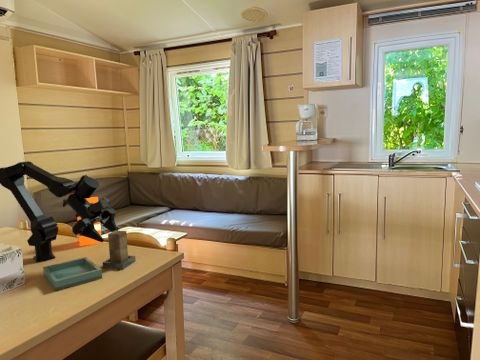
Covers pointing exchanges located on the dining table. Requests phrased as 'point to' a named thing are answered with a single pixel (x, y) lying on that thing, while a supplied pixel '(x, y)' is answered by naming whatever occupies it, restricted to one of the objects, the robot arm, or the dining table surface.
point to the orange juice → (97, 226)
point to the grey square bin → (119, 265)
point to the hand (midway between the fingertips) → (110, 237)
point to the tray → (72, 273)
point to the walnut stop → (118, 246)
